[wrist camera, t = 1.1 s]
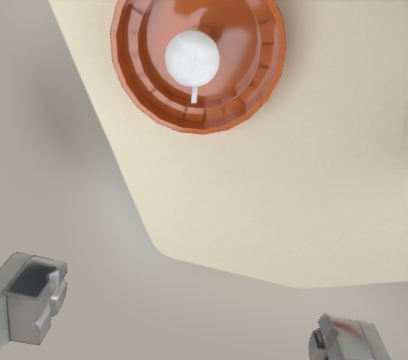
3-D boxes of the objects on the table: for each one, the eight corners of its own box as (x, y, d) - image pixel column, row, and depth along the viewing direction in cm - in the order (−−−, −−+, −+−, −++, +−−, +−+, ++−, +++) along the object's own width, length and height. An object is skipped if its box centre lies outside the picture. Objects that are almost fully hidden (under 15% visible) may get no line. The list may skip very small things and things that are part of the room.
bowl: (188, -95, 30) (182, -103, 26) (313, 36, 34) (323, 44, 31) (95, 53, 37) (79, 63, 33) (209, 143, 42) (206, 161, 38)
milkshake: (181, 72, 37) (166, 105, 29) (175, 18, 34) (157, 36, 26) (223, 70, 37) (220, 102, 28) (220, 15, 34) (217, 32, 25)
